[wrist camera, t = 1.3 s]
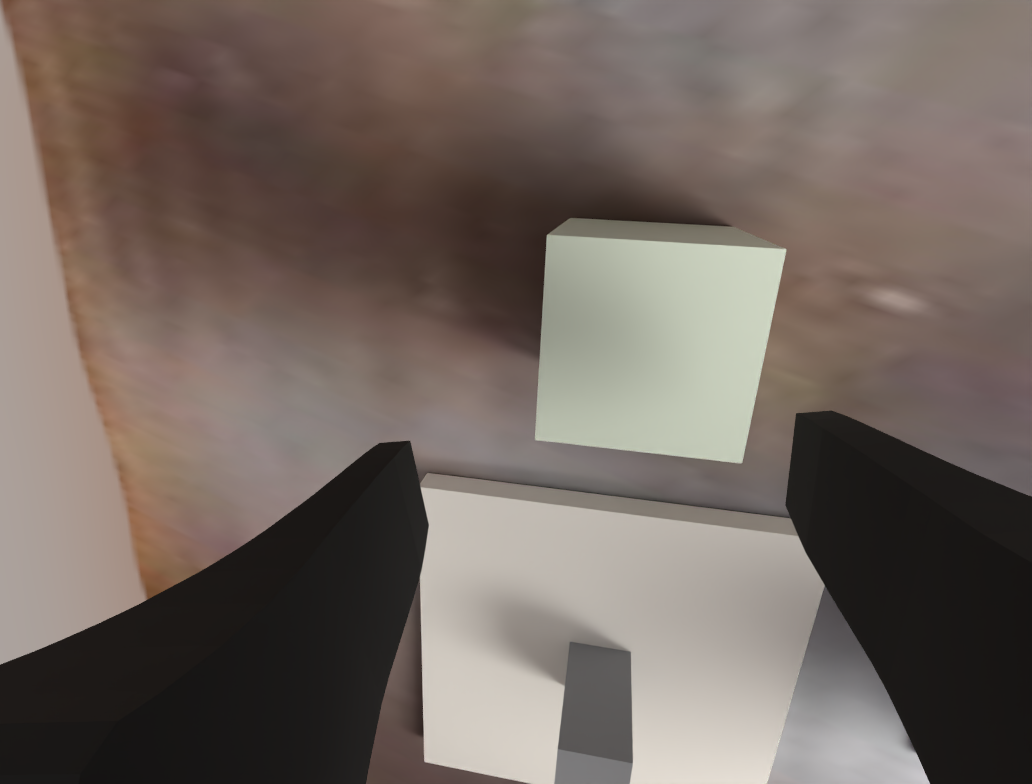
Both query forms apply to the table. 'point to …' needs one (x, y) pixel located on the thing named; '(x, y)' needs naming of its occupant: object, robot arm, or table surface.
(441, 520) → the post board
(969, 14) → the table surface
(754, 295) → the pale green block
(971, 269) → the table surface
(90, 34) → the table surface
